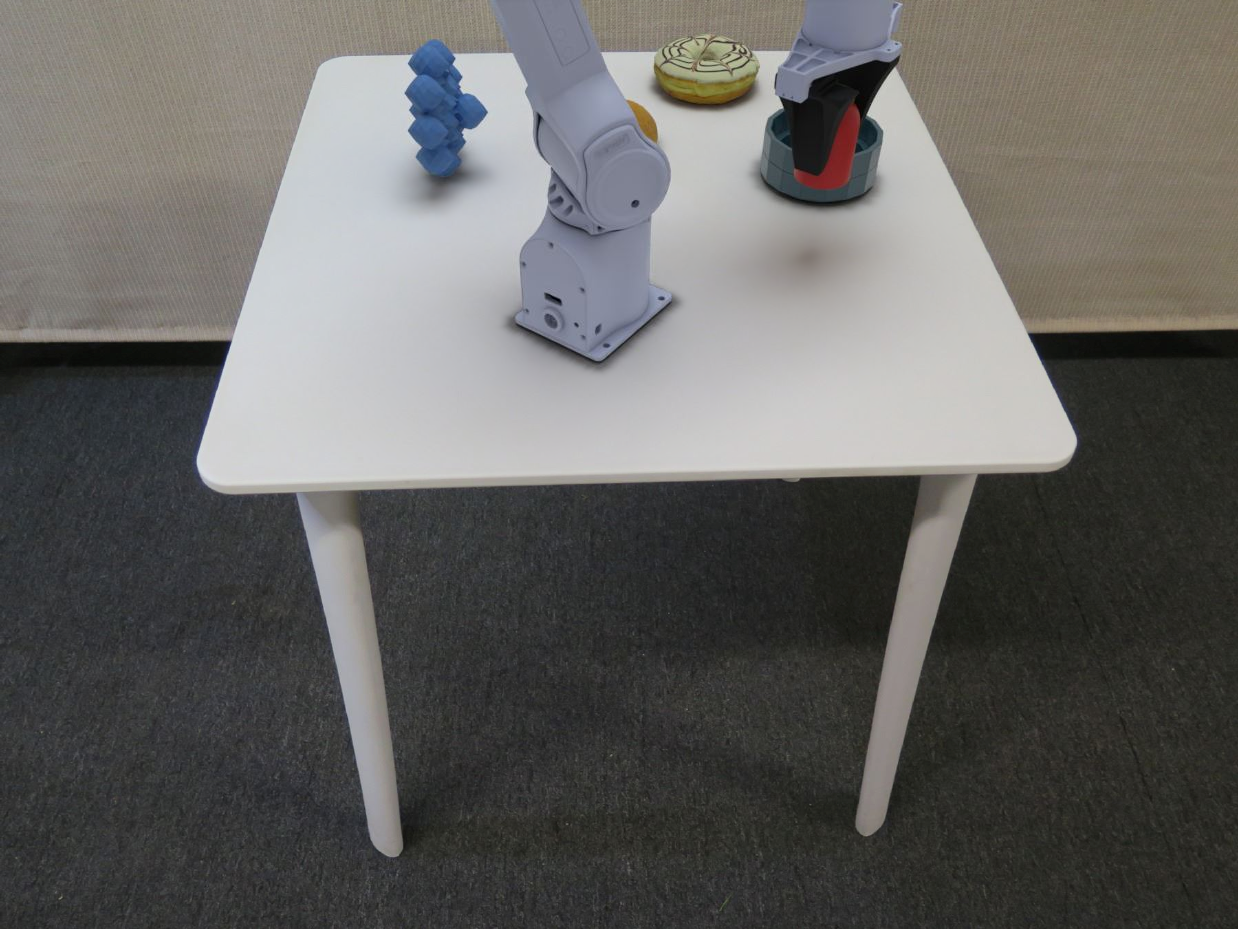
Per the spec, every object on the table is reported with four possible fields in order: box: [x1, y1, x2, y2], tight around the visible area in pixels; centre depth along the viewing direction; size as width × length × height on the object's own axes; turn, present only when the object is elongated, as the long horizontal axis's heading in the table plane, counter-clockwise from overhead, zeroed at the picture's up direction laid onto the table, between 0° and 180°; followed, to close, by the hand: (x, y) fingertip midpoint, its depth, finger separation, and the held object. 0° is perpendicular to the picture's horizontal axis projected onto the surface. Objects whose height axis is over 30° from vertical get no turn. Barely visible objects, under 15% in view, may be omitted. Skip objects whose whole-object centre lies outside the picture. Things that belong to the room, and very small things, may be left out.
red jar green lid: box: [794, 83, 860, 189], centre depth 72 cm, size 4×4×6 cm
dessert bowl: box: [759, 107, 884, 203], centre depth 87 cm, size 10×10×4 cm
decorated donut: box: [653, 33, 761, 105], centre depth 99 cm, size 10×11×4 cm
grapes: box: [404, 38, 489, 178], centre depth 84 cm, size 12×7×12 cm, turn 178°
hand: (823, 157), depth 74 cm, fingers closed on red jar green lid, 4 cm apart
